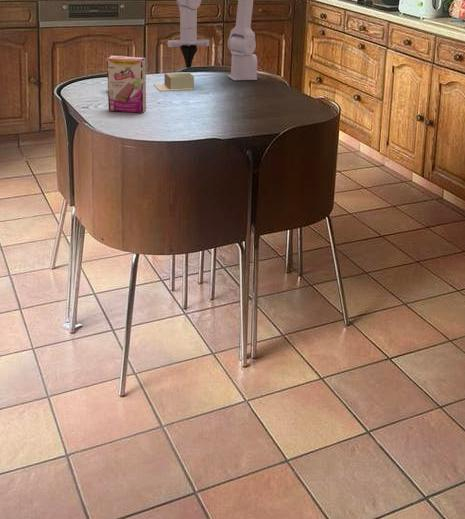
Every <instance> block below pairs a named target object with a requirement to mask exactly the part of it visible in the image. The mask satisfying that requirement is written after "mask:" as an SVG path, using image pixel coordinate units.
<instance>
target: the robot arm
mask: <svg viewBox="0 0 465 519" xmlns="http://www.w3.org/2000/svg"><path fill="white" fill-rule="evenodd" d="M201 3H202V0H176V4H177V5H178V9H179V10H178V11H179V13H180V14H179V16H180V17H179V19H180V20H179V28H180V29H179V30H180V31H179V32H180V34H179V35H180V39H171V40H169V39H168V40H167V47H169V48H172V47H173V48H175V47H179V49H180V51H181V53H182V56H183V59H184V62H185V63H184V64H185V67H186V68H187V69H190V68H192V63H193V60H194V57H195V54H196V53H197V52H198V47H210V40H209V39H201V38H198V37H197V35H198V32H197V31H198V27H197V25H198V8H200V6H201ZM253 7H254V0H237V8H236V9H237V10H236V18H235V26H234V27H233V28H232V29H231V30H230V35H229V38H228V39H227V48H228V49H229V50H230V54H231V65H230V66H231V68H230V74H227V77H228V78H229V79H231V80H232V81H257V80H258V78H257V77H258V57H257V55H256V54H255V53H254V52H255V51H256V47H257V46H256V45H257V43H256V34H255V32H254V31H253V30H252V28H251V25H252V18H253Z"/></svg>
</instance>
